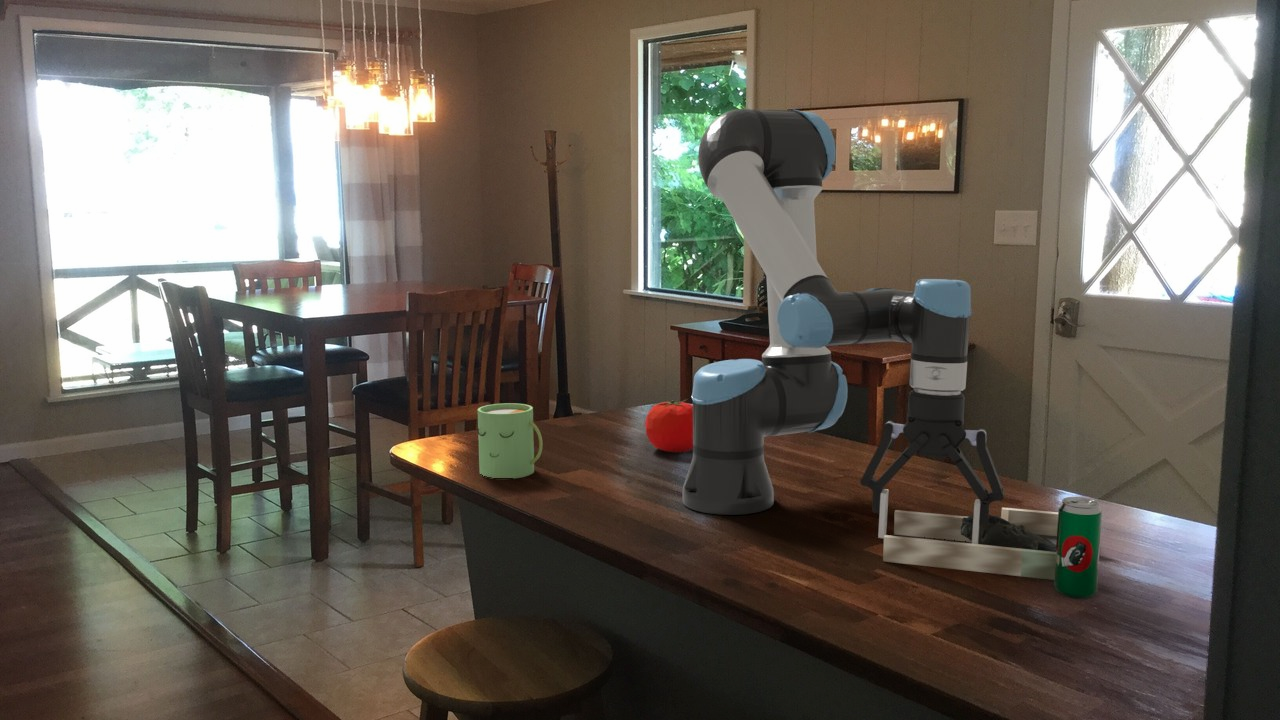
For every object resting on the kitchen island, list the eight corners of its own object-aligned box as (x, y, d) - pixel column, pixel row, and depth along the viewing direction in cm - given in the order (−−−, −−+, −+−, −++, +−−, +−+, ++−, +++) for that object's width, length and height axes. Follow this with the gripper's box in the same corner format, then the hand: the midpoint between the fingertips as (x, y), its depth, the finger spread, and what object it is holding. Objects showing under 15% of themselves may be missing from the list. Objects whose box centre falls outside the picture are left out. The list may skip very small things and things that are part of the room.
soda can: (1105, 598, 132) (1111, 505, 130) (1069, 601, 131) (1074, 508, 129) (1080, 583, 137) (1085, 494, 135) (1045, 587, 136) (1050, 497, 134)
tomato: (713, 448, 212) (714, 398, 211) (685, 460, 203) (685, 408, 201) (663, 441, 219) (663, 393, 217) (633, 452, 209) (633, 402, 208)
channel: (883, 561, 146) (883, 537, 145) (899, 520, 164) (900, 498, 164) (1094, 584, 136) (1096, 558, 136) (1086, 537, 155) (1087, 515, 154)
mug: (468, 476, 192) (466, 412, 190) (496, 463, 202) (495, 401, 200) (529, 482, 187) (527, 417, 186) (555, 468, 197) (554, 406, 195)
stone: (1060, 567, 143) (1063, 530, 142) (959, 556, 147) (961, 519, 146) (1057, 551, 150) (1060, 515, 149) (960, 541, 154) (962, 506, 153)
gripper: (844, 387, 146) (837, 537, 149) (1029, 401, 138) (1018, 560, 141) (853, 380, 153) (846, 524, 156) (1030, 393, 145) (1019, 545, 148)
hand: (927, 541), depth 148 cm, fingers open, 12 cm apart
